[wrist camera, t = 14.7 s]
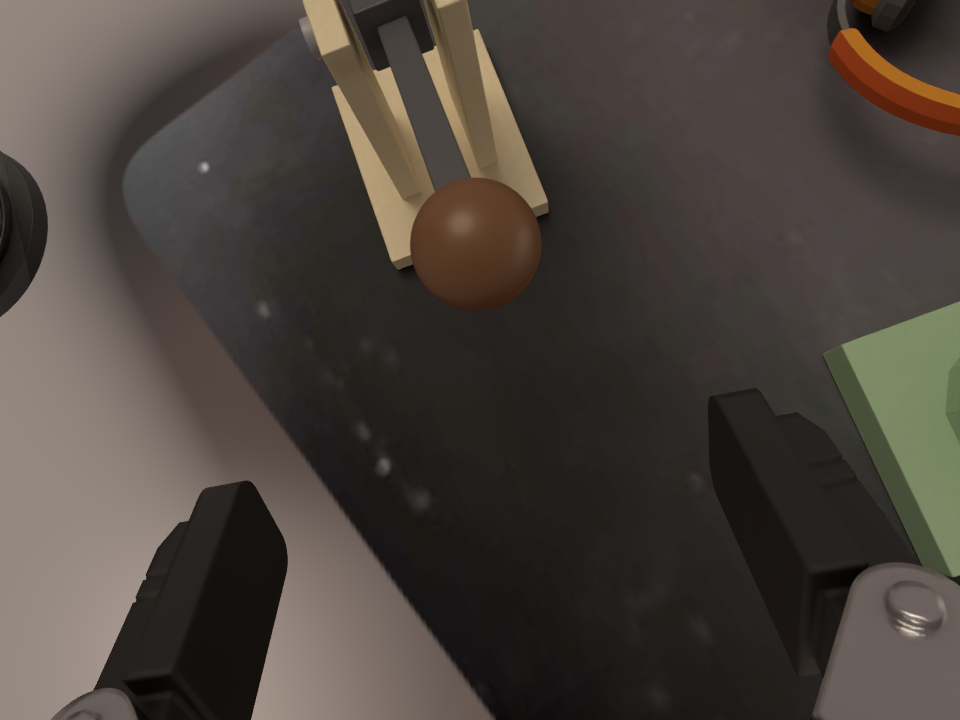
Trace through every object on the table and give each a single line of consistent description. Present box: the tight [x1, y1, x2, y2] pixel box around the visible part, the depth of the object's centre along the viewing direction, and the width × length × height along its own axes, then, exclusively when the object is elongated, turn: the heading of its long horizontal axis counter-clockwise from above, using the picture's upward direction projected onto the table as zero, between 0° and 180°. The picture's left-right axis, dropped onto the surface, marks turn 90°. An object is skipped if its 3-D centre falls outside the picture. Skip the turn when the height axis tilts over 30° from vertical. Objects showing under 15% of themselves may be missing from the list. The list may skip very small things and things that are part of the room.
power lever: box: [348, 0, 542, 311], centre depth 21 cm, size 14×4×4 cm, turn 20°
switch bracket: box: [299, 0, 548, 270], centre depth 28 cm, size 10×8×13 cm
